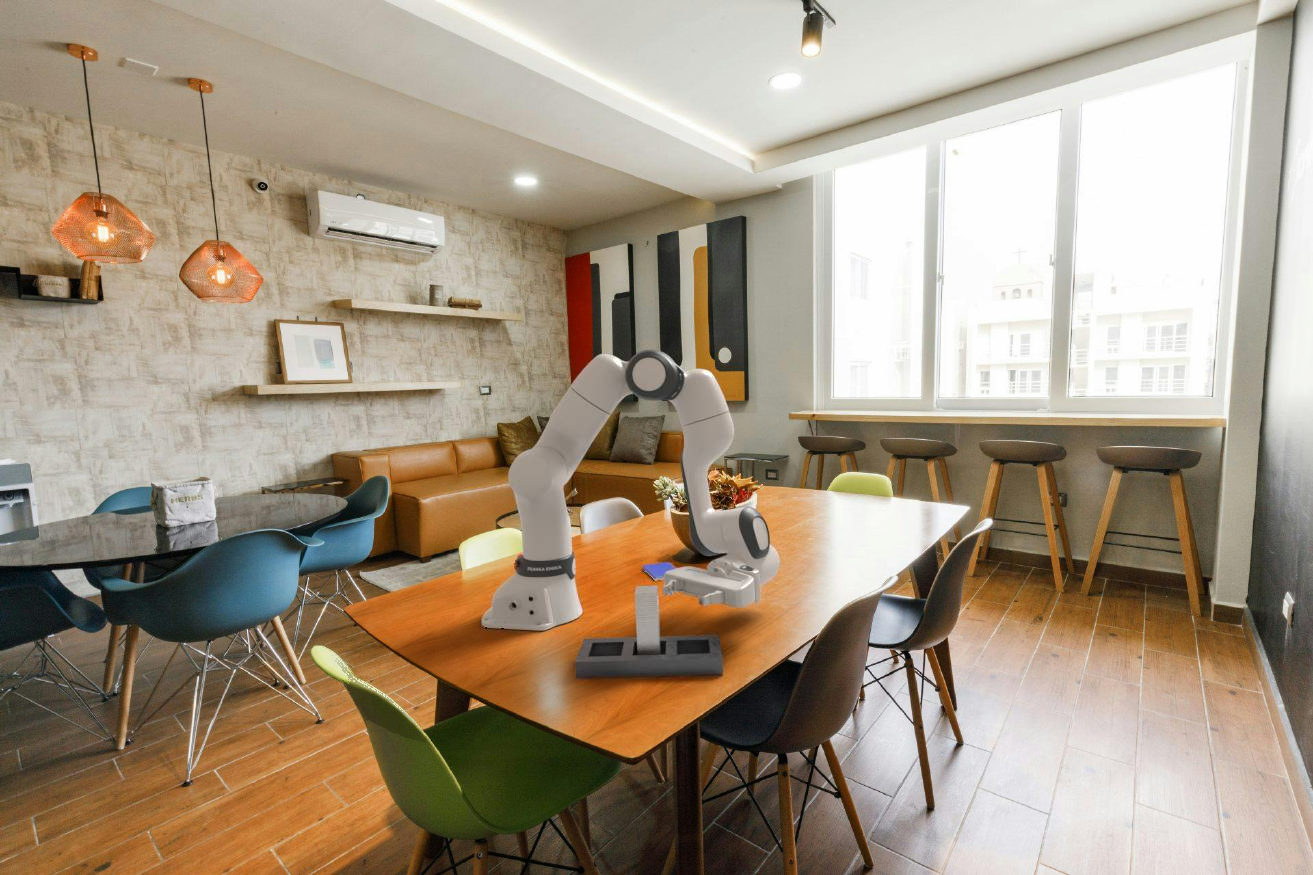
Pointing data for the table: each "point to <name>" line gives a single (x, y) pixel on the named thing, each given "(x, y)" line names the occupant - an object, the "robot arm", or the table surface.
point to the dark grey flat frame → (649, 657)
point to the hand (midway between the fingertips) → (682, 596)
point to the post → (647, 620)
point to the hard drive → (658, 570)
